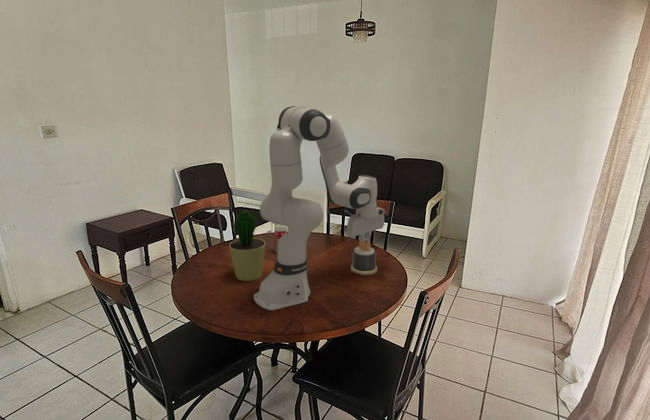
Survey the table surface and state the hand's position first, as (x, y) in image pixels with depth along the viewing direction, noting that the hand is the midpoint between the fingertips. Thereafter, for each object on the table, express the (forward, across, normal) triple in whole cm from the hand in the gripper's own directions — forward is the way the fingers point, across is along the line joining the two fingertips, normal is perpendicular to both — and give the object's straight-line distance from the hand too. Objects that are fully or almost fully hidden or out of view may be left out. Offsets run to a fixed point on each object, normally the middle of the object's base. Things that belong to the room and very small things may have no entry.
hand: (365, 241), depth 164 cm
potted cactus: (+14, -44, +27) cm, 54 cm away
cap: (+8, 0, 0) cm, 8 cm away
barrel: (+14, 0, 0) cm, 14 cm away
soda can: (+14, -18, +42) cm, 48 cm away
